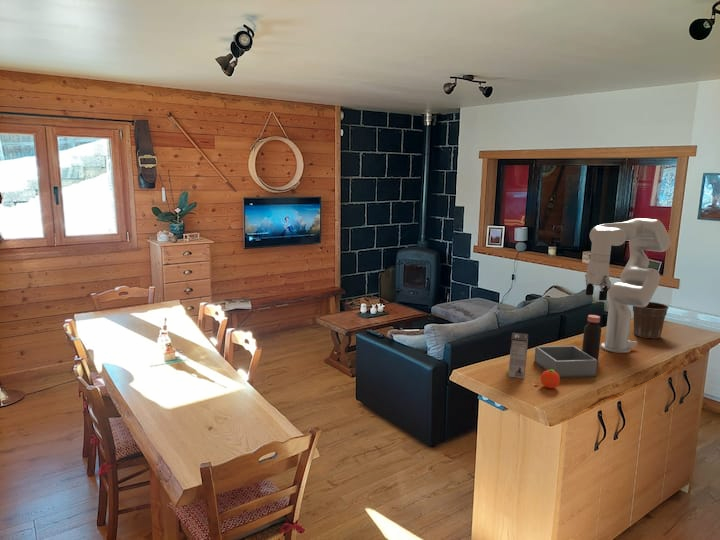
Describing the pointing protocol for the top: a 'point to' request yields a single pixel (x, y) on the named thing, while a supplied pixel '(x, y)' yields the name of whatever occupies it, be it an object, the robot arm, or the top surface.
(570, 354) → the tote
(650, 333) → the plant pot
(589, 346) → the vinegar
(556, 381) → the clementine
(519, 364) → the coffee box
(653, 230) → the robot arm
